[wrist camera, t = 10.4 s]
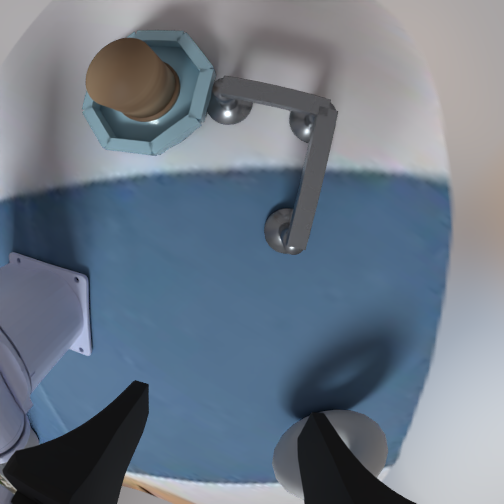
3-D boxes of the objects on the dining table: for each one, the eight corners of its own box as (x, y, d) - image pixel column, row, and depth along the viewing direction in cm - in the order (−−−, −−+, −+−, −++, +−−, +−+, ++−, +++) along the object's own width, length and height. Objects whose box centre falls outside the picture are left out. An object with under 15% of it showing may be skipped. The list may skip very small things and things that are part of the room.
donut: (369, 389, 24) (405, 470, 14) (370, 411, 25) (400, 487, 15) (266, 415, 24) (270, 504, 15) (274, 435, 25) (279, 518, 16)
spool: (112, 118, 17) (73, 107, 12) (129, 60, 16) (97, 35, 11) (170, 126, 17) (143, 113, 12) (188, 65, 16) (168, 35, 11)
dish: (87, 147, 18) (74, 146, 16) (115, 40, 16) (105, 32, 14) (197, 162, 18) (191, 161, 17) (226, 45, 16) (223, 34, 14)
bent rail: (180, 230, 20) (160, 247, 15) (212, 79, 17) (200, 55, 12) (302, 255, 20) (315, 280, 16) (337, 107, 17) (360, 92, 13)
